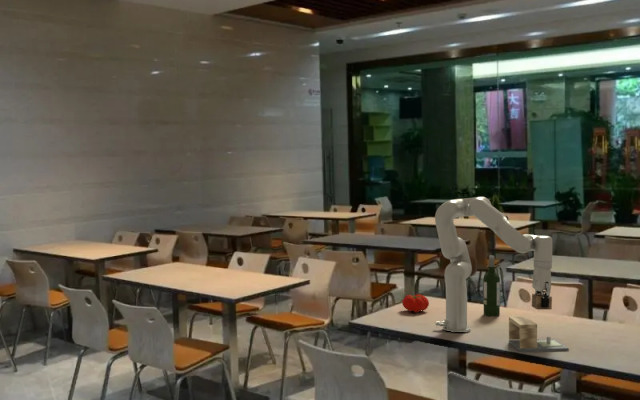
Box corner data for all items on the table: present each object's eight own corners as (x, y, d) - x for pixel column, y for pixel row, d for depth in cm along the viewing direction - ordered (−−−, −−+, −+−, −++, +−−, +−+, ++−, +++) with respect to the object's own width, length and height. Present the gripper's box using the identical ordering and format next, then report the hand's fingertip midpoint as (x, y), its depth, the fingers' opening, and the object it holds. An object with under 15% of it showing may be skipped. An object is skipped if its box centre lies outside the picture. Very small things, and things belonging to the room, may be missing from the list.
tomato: (401, 314, 341) (401, 297, 341) (402, 309, 354) (402, 292, 353) (428, 315, 339) (428, 297, 339) (429, 309, 351) (429, 293, 351)
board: (520, 351, 271) (520, 342, 271) (508, 342, 286) (508, 333, 285) (568, 350, 272) (568, 341, 272) (554, 341, 286) (554, 332, 286)
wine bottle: (482, 313, 342) (482, 254, 340) (498, 313, 341) (498, 254, 339) (484, 316, 334) (484, 256, 333) (500, 316, 333) (500, 257, 331)
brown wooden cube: (536, 309, 286) (537, 296, 286) (531, 306, 292) (532, 293, 292) (551, 309, 286) (552, 296, 286) (546, 306, 293) (546, 293, 292)
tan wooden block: (520, 348, 271) (520, 324, 271) (508, 339, 285) (508, 316, 285) (537, 348, 271) (537, 324, 271) (525, 339, 286) (525, 316, 285)
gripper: (527, 261, 297) (526, 301, 298) (541, 267, 279) (540, 310, 281) (543, 261, 297) (542, 301, 298) (559, 267, 280) (558, 309, 281)
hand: (541, 305), depth 289 cm, fingers closed on brown wooden cube, 6 cm apart
